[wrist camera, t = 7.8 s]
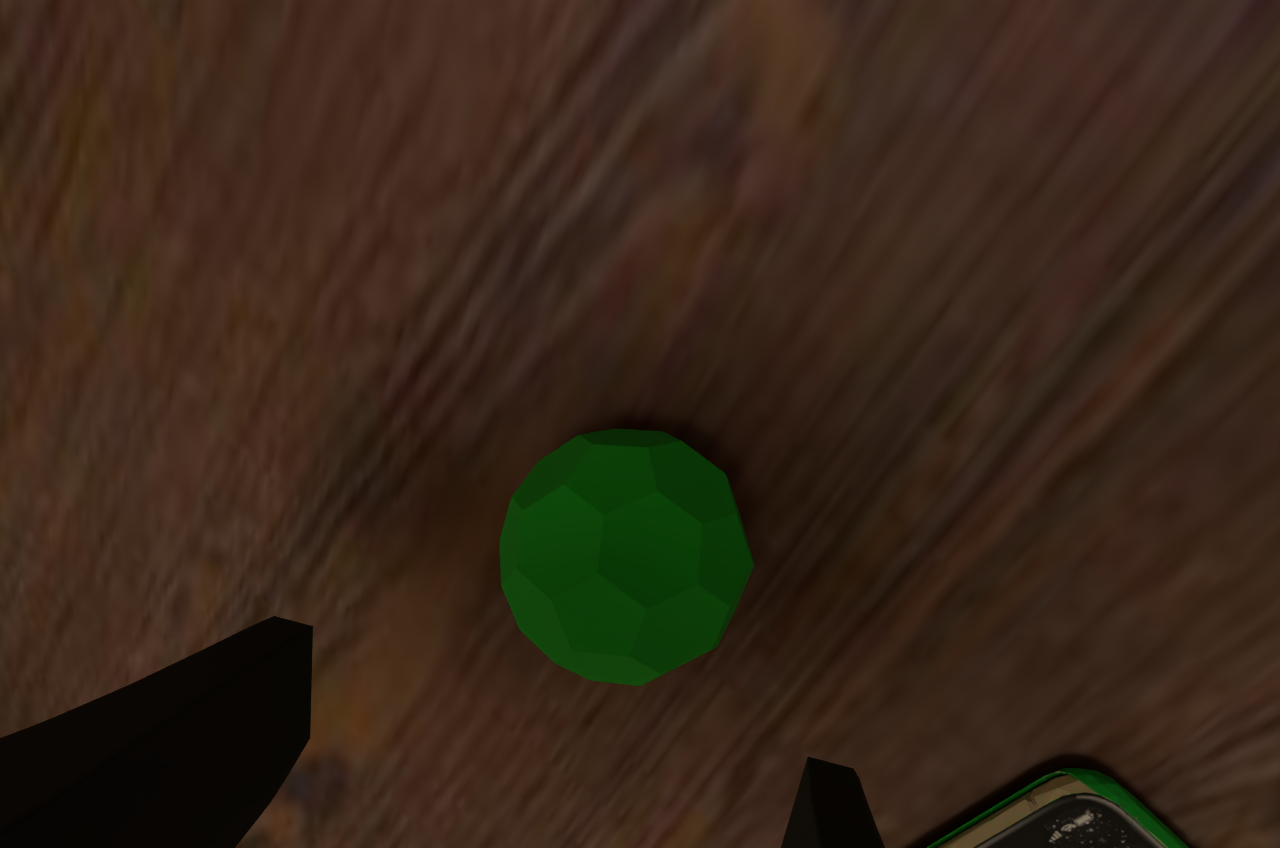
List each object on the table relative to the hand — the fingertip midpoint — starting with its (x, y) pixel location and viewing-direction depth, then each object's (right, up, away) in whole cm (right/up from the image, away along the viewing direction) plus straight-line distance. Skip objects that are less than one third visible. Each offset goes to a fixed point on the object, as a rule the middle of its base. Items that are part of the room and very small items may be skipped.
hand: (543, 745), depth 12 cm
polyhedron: (+2, +3, +8) cm, 8 cm away
